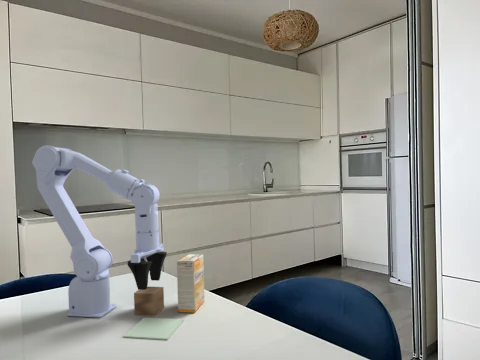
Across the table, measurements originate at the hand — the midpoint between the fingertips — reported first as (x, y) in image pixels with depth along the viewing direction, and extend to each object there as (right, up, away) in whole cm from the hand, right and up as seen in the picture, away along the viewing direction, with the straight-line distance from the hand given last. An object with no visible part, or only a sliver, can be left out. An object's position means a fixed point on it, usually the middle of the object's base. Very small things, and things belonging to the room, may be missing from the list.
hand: (149, 284), depth 91 cm
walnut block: (0, -7, 0) cm, 7 cm away
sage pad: (+4, -7, -11) cm, 13 cm away
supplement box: (+11, -7, +2) cm, 13 cm away
